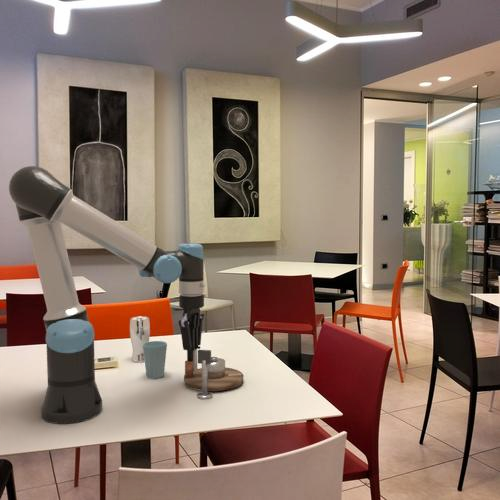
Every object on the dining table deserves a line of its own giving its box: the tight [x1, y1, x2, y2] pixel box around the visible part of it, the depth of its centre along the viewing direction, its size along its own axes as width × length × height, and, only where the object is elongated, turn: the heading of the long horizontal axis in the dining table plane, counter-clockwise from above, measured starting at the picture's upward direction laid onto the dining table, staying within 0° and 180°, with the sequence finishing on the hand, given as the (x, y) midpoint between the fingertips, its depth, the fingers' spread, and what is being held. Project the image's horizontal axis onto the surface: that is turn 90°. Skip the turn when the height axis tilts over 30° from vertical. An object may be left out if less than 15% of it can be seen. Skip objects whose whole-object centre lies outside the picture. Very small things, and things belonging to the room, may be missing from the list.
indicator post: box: [196, 349, 213, 401], centre depth 146 cm, size 4×4×13 cm
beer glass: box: [129, 315, 151, 363], centre depth 183 cm, size 7×7×15 cm
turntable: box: [183, 359, 244, 392], centre depth 158 cm, size 18×18×6 cm
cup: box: [143, 340, 168, 379], centre depth 165 cm, size 8×8×10 cm
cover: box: [207, 356, 226, 379], centre depth 158 cm, size 7×7×6 cm
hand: (192, 370), depth 159 cm, fingers closed
